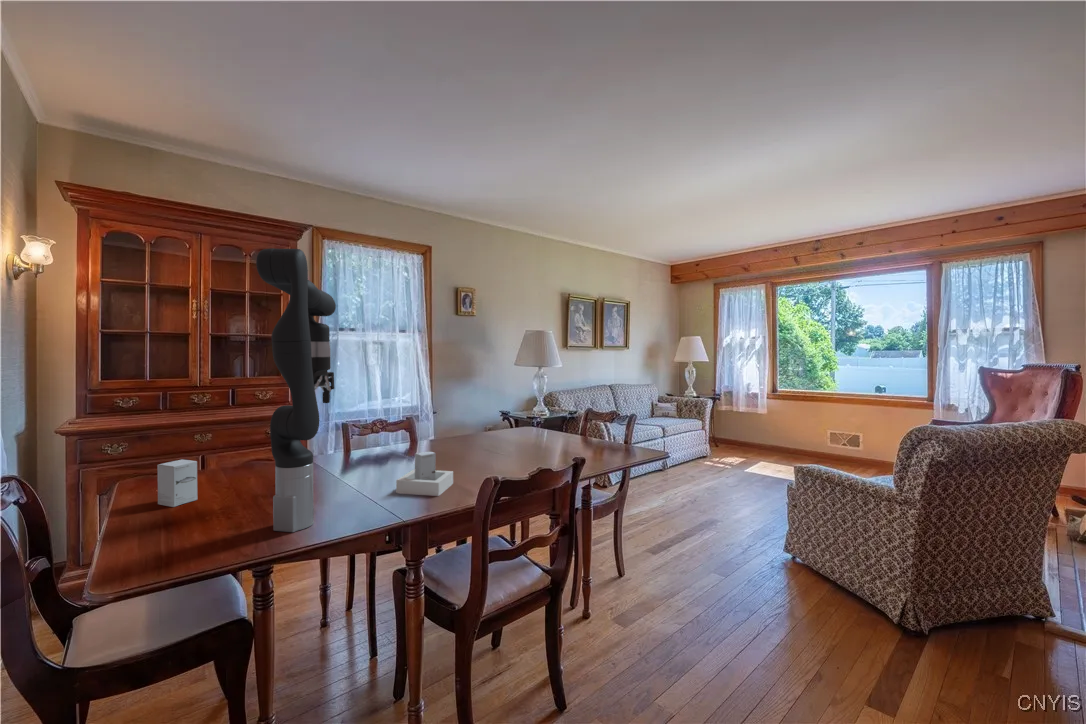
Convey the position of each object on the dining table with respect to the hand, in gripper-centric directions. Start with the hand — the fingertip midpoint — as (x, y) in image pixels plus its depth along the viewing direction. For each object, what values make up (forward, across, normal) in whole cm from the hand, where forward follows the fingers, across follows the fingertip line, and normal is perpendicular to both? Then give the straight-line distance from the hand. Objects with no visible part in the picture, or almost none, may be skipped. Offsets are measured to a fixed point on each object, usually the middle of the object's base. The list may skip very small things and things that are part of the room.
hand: (318, 404), depth 154 cm
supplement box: (+30, -15, +38) cm, 51 cm away
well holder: (+30, +13, -32) cm, 46 cm away
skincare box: (+30, +13, -32) cm, 46 cm away
